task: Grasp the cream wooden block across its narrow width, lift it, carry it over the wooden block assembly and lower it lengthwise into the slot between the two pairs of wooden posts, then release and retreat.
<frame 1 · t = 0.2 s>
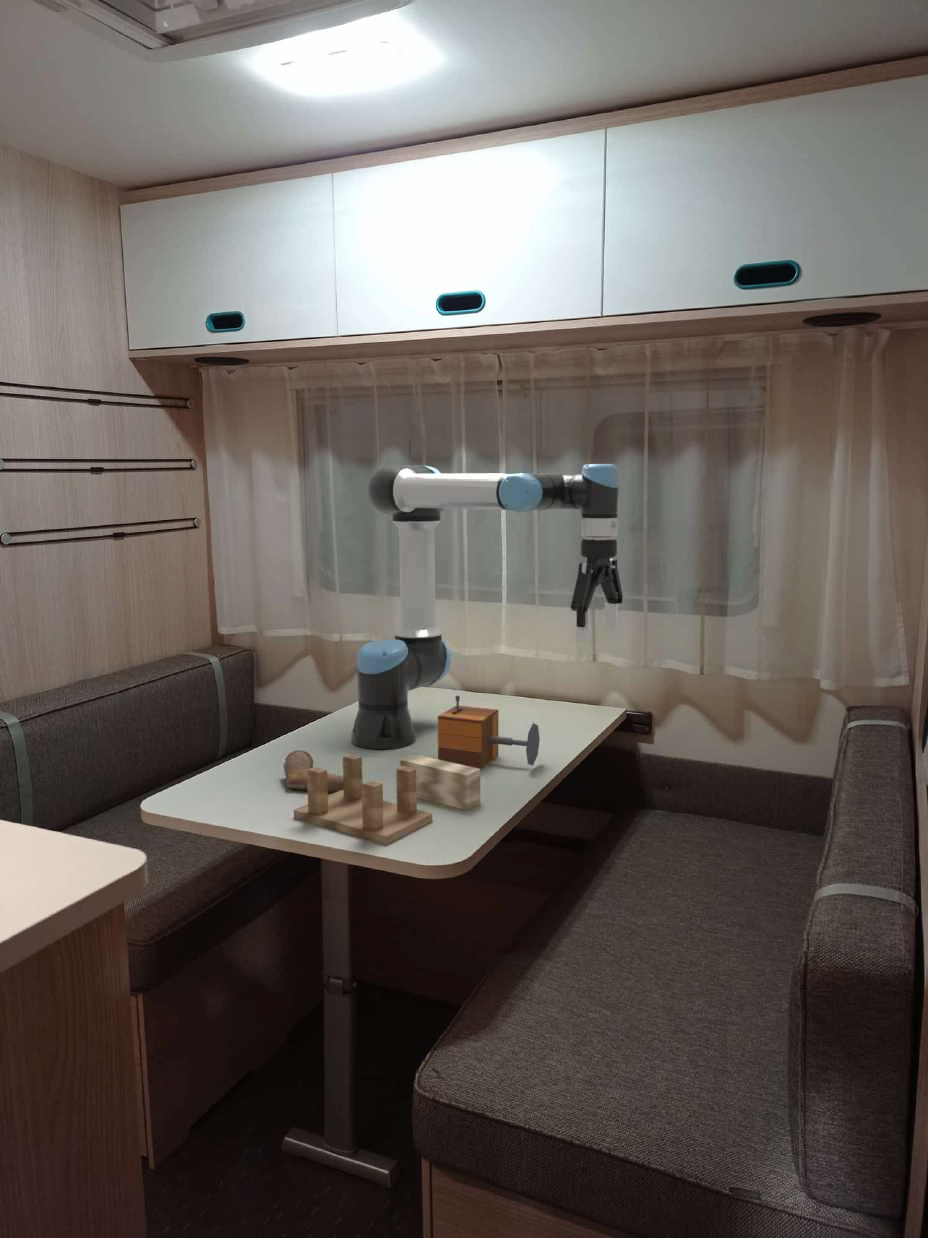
hand: (596, 637, 192), 28 cm above the table, fingers open, 13 cm apart
pipe: (317, 787, 182), on the table
cream wooden block: (439, 799, 174), on the table
wooden box with plunger: (489, 764, 196), on the table
wooden block assembly: (362, 819, 163), on the table
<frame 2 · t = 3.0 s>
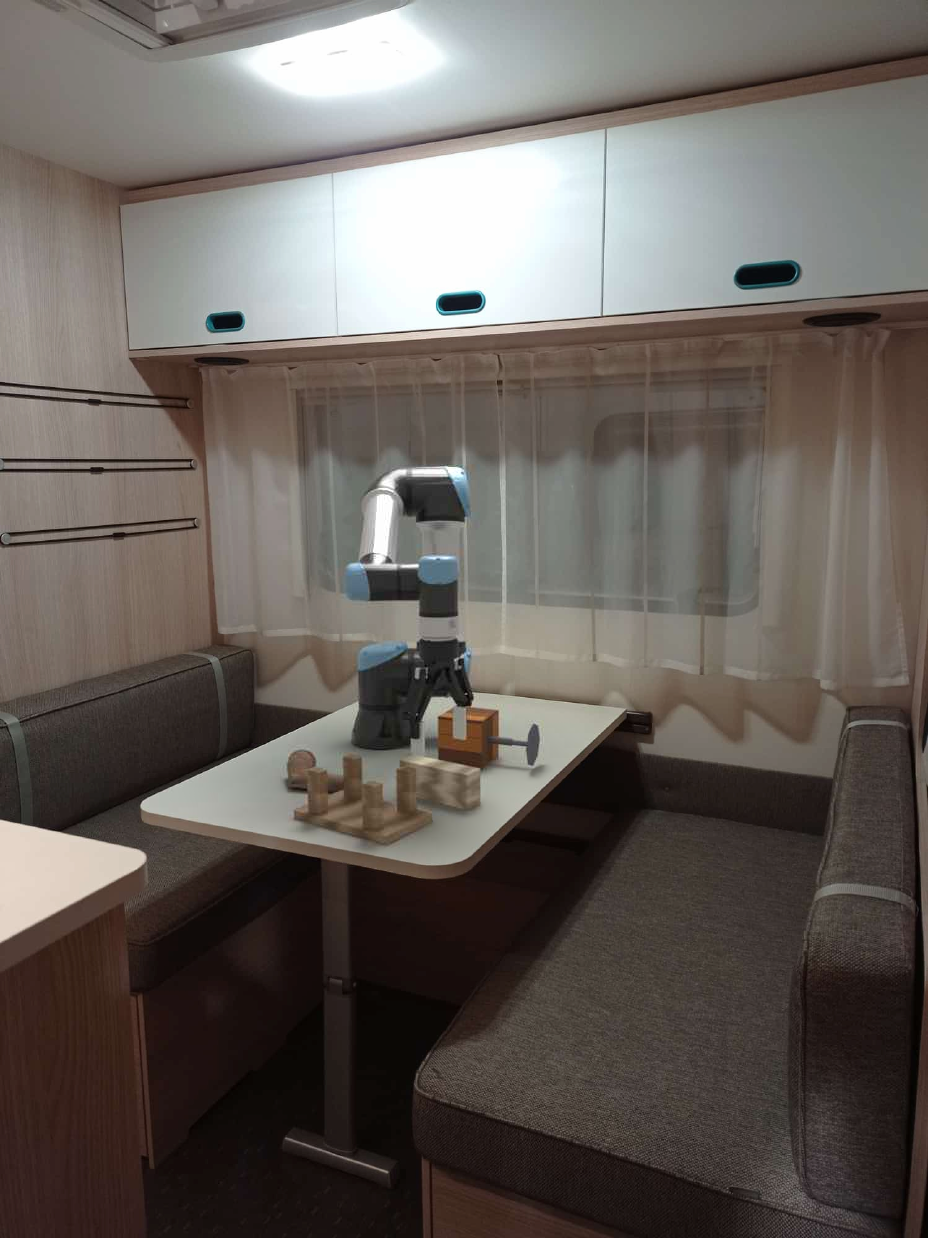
hand: (439, 746, 172), 10 cm above the table, fingers open, 13 cm apart
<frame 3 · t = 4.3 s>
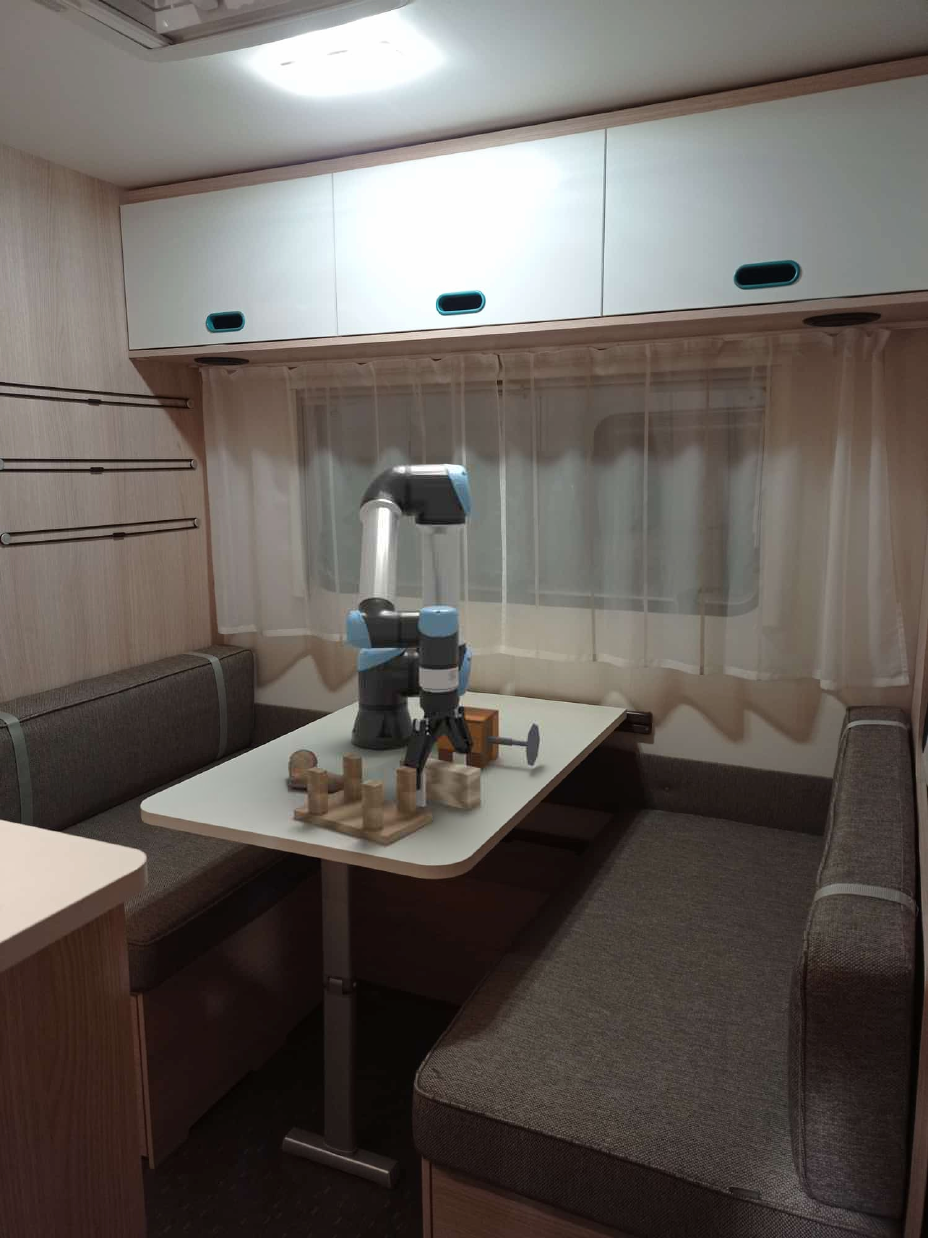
hand: (439, 794, 174), 1 cm above the table, fingers open, 13 cm apart
nothing on the table moved.
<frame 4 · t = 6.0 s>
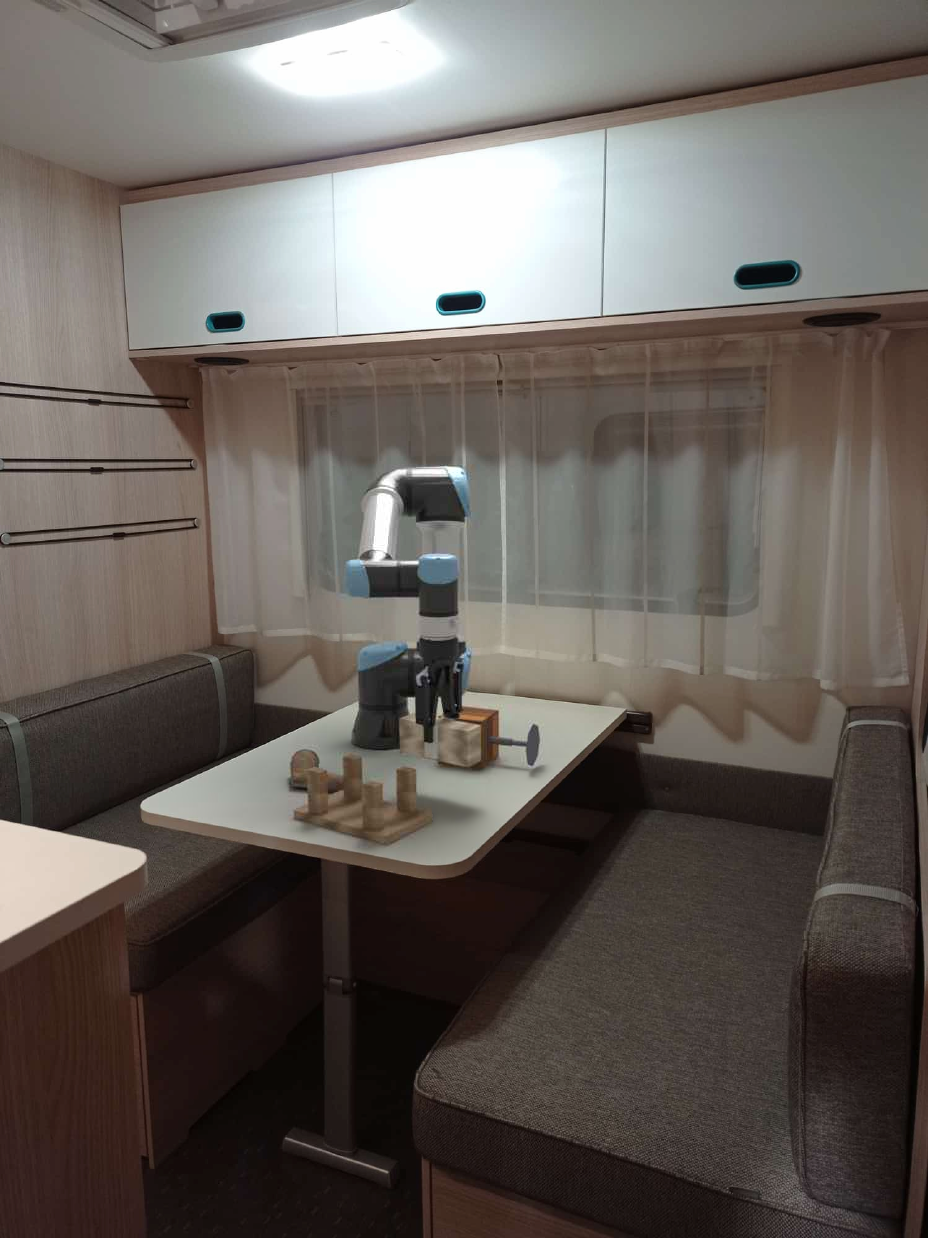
hand: (439, 753, 174), 9 cm above the table, fingers closed on cream wooden block, 5 cm apart
cream wooden block: (439, 756, 174), point 8 cm above the table, touching gripper
everything else where it was.
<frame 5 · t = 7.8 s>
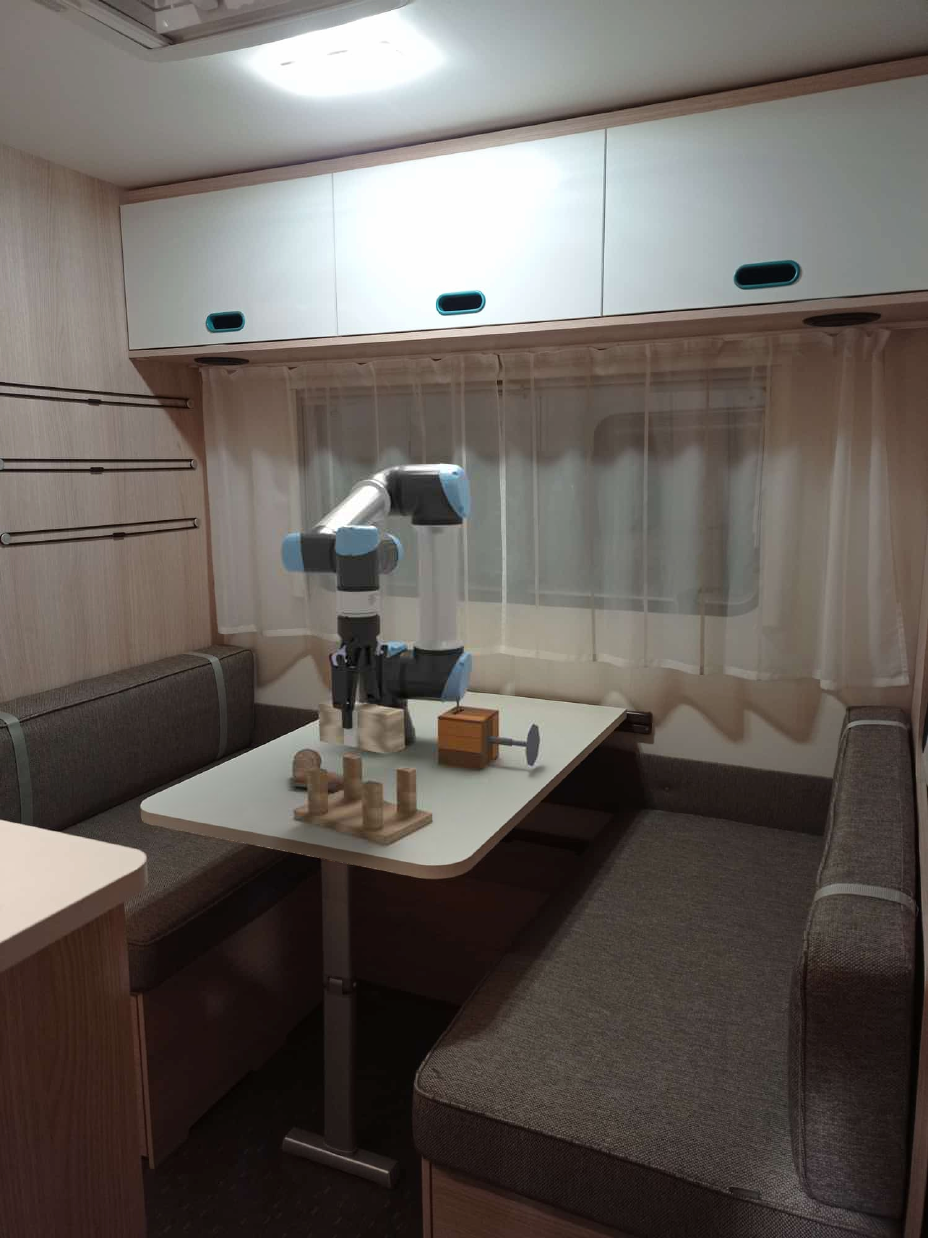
hand: (360, 741, 161), 15 cm above the table, fingers closed on cream wooden block, 5 cm apart
cream wooden block: (361, 744, 161), point 14 cm above the table, touching gripper
when the fingers open (2 cm above the table, at t = 10.1 s): cream wooden block stays where it is, resting on wooden block assembly.
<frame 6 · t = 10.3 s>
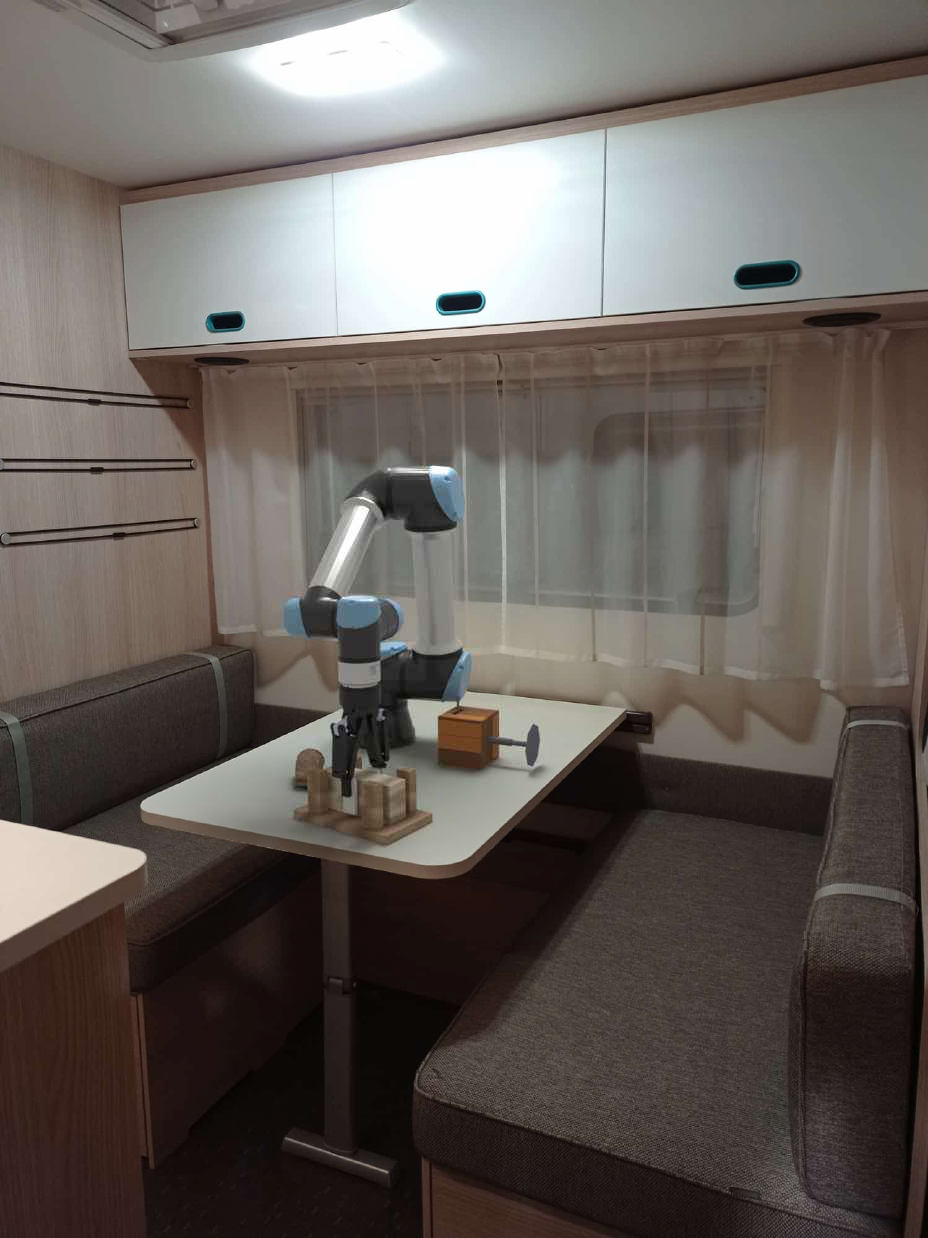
hand: (362, 807, 163), 2 cm above the table, fingers open, 6 cm apart
cream wooden block: (363, 811, 163), point 1 cm above the table, touching wooden block assembly
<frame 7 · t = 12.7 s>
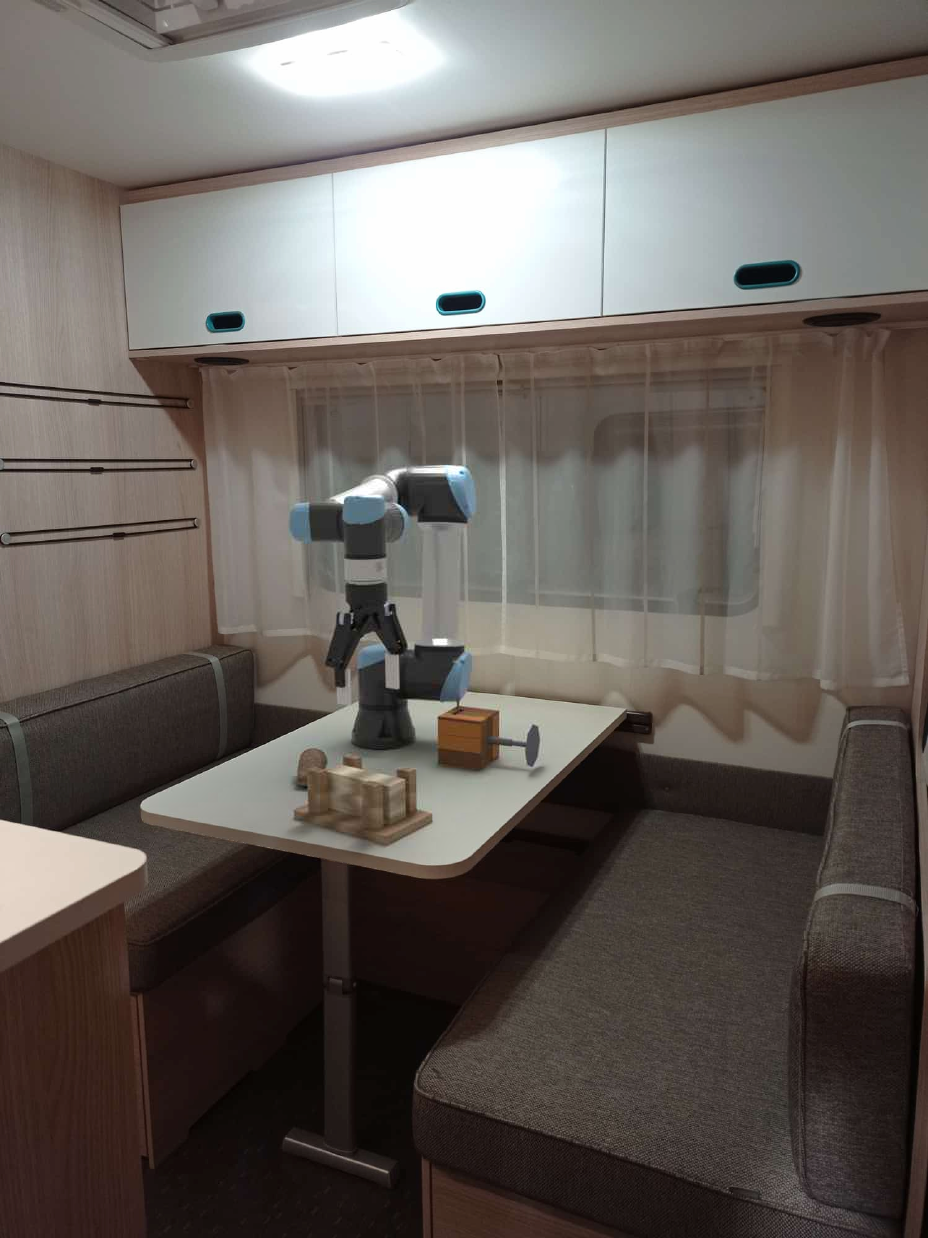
hand: (369, 696, 164), 22 cm above the table, fingers open, 13 cm apart
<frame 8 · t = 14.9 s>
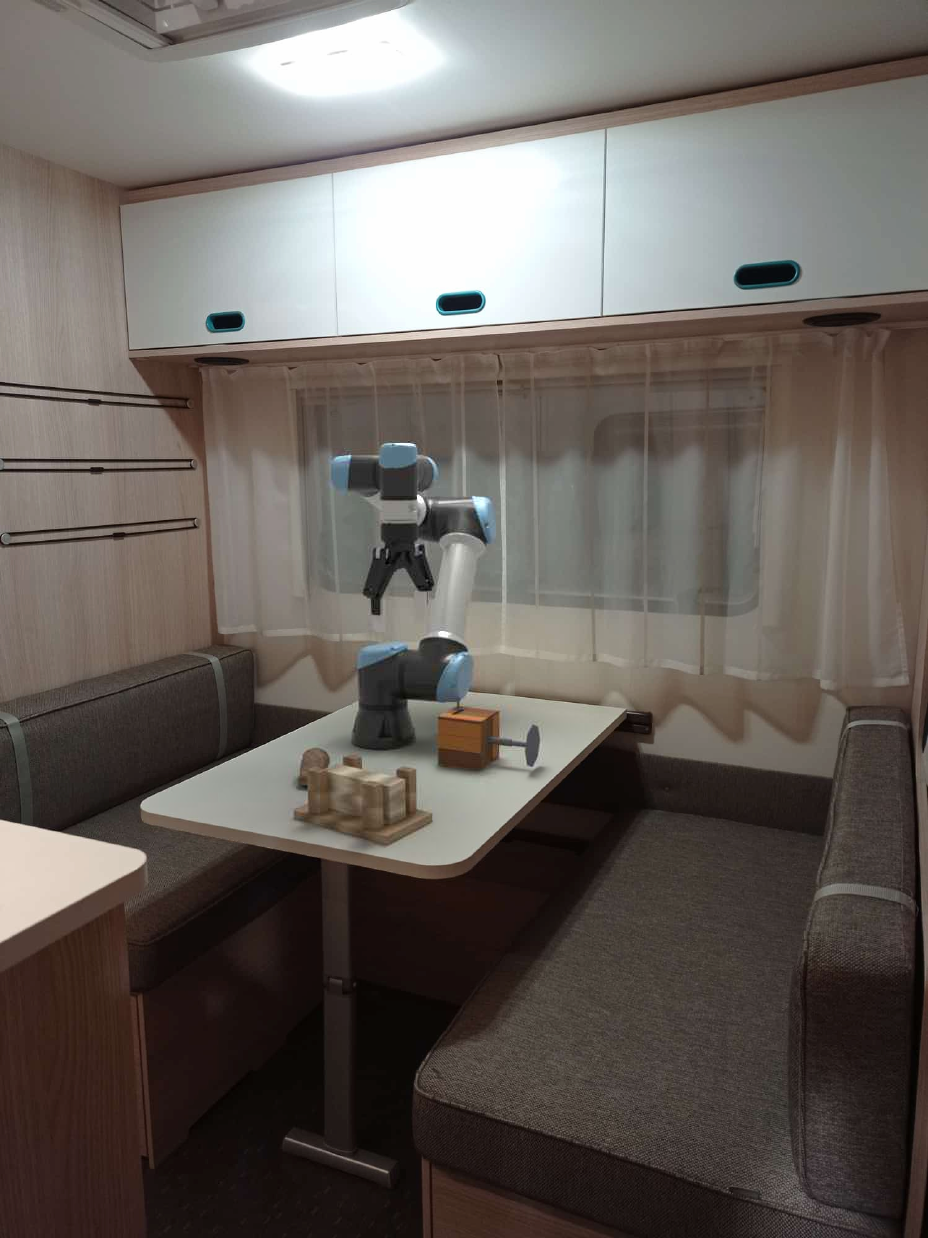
hand: (400, 626, 182), 32 cm above the table, fingers open, 13 cm apart
at the end: cream wooden block inside the target area on the wooden block assembly (0.1 cm from its centre), point 1.5 cm above the wooden block assembly's base; cream wooden block tilted 0°; the gripper is holding nothing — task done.
